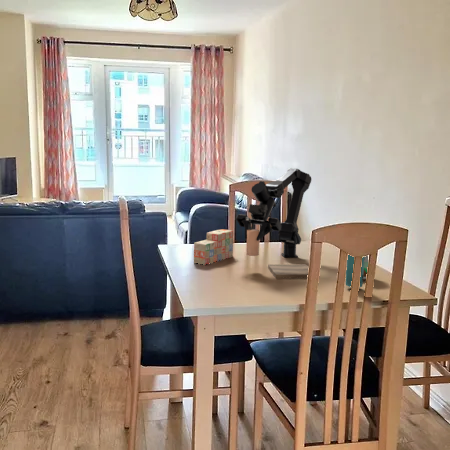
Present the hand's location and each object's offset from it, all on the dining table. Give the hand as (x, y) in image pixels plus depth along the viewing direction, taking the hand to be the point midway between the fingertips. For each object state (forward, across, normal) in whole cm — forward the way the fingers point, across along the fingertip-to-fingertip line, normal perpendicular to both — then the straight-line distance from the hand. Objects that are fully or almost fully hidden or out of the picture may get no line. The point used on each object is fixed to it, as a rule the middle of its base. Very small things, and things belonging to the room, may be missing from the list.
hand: (251, 239), depth 213 cm
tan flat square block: (+4, +15, +14) cm, 21 cm away
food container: (-2, +42, +22) cm, 48 cm away
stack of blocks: (+4, -23, +15) cm, 28 cm away
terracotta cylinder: (+4, 0, +6) cm, 7 cm away
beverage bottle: (+10, +43, +10) cm, 45 cm away
